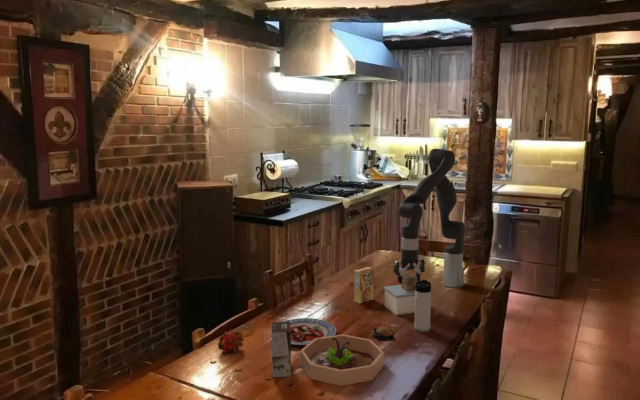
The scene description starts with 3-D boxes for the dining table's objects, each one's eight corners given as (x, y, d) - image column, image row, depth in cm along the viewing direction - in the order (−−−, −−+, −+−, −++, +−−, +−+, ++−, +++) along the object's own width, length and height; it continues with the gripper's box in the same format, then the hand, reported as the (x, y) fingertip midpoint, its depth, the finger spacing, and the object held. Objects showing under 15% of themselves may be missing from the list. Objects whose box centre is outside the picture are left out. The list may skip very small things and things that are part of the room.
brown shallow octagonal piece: (362, 343, 204) (362, 331, 203) (394, 376, 178) (394, 362, 178) (294, 354, 195) (294, 341, 194) (317, 390, 170) (317, 375, 169)
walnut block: (411, 286, 242) (411, 274, 241) (416, 290, 237) (416, 277, 236) (401, 287, 240) (401, 275, 239) (406, 291, 236) (406, 278, 235)
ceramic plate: (287, 355, 195) (287, 347, 195) (261, 330, 218) (261, 323, 217) (348, 341, 207) (348, 333, 206) (317, 318, 229) (317, 312, 229)
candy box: (367, 297, 255) (367, 266, 252) (373, 299, 252) (373, 268, 249) (353, 301, 249) (353, 270, 247) (359, 304, 246) (360, 272, 244)
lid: (415, 285, 248) (415, 282, 248) (430, 294, 236) (430, 291, 235) (383, 289, 243) (383, 286, 242) (396, 298, 230) (396, 295, 230)
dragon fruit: (244, 348, 204) (223, 365, 194) (229, 333, 206) (207, 348, 196) (252, 335, 199) (230, 352, 189) (236, 320, 201) (214, 335, 192)
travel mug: (431, 327, 219) (432, 280, 216) (428, 333, 213) (430, 285, 209) (415, 325, 221) (416, 279, 218) (413, 331, 215) (414, 283, 212)
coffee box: (291, 376, 179) (290, 331, 176) (272, 377, 178) (271, 332, 175) (290, 364, 188) (290, 320, 185) (272, 364, 187) (271, 321, 184)
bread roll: (370, 331, 216) (370, 323, 216) (391, 331, 217) (391, 322, 216) (374, 342, 206) (374, 333, 205) (396, 342, 206) (396, 333, 206)
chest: (415, 302, 248) (416, 285, 247) (428, 311, 237) (429, 293, 236) (384, 306, 243) (384, 289, 242) (396, 315, 232) (396, 298, 230)
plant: (332, 351, 199) (332, 322, 197) (377, 365, 187) (377, 335, 185) (298, 371, 183) (297, 340, 181) (345, 389, 171) (345, 356, 169)
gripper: (399, 250, 230) (398, 286, 232) (428, 247, 234) (427, 283, 237) (391, 246, 237) (390, 281, 239) (419, 244, 241) (418, 278, 244)
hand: (408, 282), depth 238 cm, fingers open, 8 cm apart
